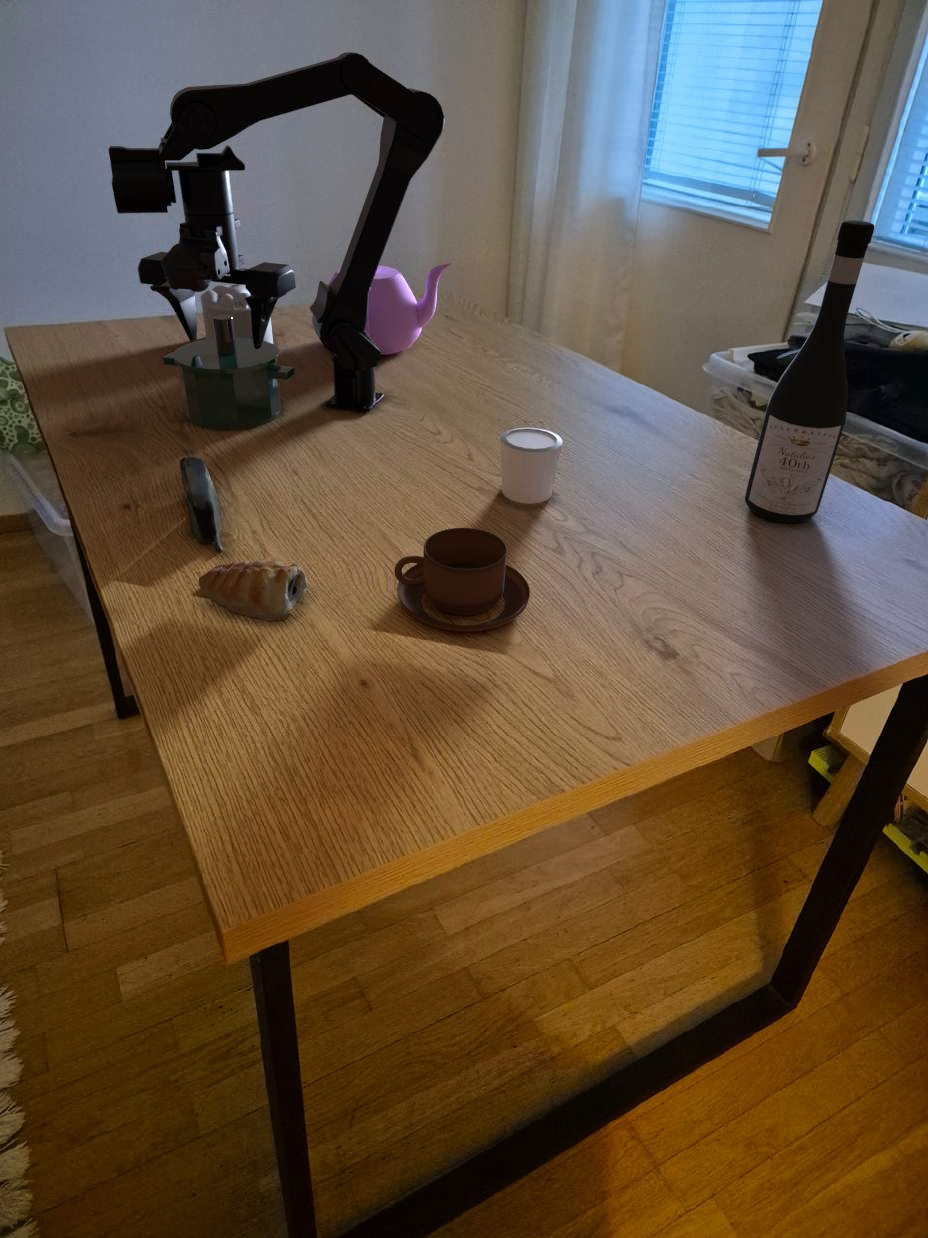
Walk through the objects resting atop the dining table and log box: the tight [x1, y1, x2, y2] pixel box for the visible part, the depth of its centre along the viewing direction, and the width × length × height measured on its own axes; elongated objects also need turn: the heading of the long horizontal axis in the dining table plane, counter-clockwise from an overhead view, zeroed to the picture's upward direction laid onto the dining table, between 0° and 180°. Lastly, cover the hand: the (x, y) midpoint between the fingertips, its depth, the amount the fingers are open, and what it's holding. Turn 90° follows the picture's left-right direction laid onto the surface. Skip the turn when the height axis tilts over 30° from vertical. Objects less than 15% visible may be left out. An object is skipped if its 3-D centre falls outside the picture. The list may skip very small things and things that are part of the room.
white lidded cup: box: [499, 427, 563, 505], centre depth 95 cm, size 7×7×7 cm
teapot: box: [327, 262, 452, 356], centre depth 137 cm, size 22×22×14 cm
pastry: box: [198, 557, 308, 622], centre depth 76 cm, size 9×7×4 cm
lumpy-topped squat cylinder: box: [200, 284, 274, 344], centre depth 136 cm, size 10×13×9 cm
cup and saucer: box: [394, 527, 531, 633], centre depth 76 cm, size 12×12×6 cm
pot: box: [162, 351, 296, 430], centre depth 112 cm, size 12×18×8 cm
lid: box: [173, 315, 281, 374], centre depth 109 cm, size 13×13×6 cm
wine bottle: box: [744, 219, 875, 524], centre depth 87 cm, size 8×8×30 cm
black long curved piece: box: [179, 456, 224, 554], centre depth 87 cm, size 5×3×15 cm
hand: (225, 344), depth 109 cm, fingers open, 9 cm apart
